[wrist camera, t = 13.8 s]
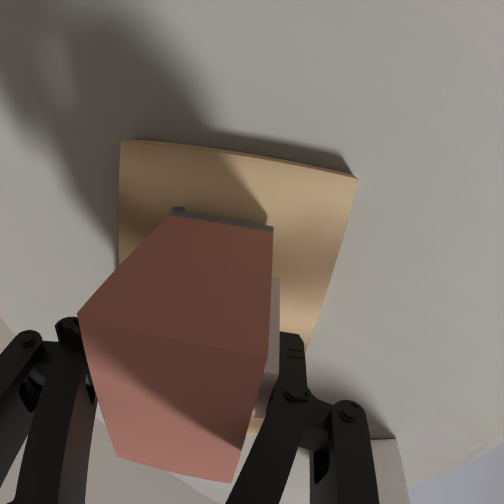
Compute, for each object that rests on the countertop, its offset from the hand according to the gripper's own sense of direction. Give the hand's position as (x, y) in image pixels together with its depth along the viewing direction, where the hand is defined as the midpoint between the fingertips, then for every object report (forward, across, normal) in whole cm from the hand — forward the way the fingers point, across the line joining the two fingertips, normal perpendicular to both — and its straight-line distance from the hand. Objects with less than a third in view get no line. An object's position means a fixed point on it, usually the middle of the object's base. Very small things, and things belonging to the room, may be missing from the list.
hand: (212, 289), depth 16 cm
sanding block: (+1, 0, 0) cm, 1 cm away
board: (+2, 0, -4) cm, 5 cm away
